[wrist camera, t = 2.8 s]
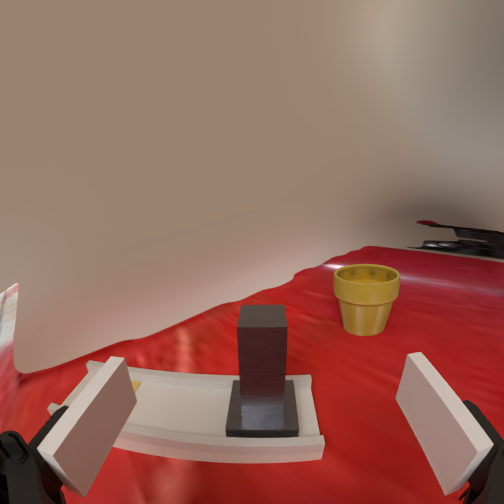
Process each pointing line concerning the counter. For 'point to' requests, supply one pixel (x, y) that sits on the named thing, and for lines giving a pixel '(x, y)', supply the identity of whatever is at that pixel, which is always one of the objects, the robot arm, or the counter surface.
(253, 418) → the post
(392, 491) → the counter surface
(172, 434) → the rail
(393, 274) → the plant pot
